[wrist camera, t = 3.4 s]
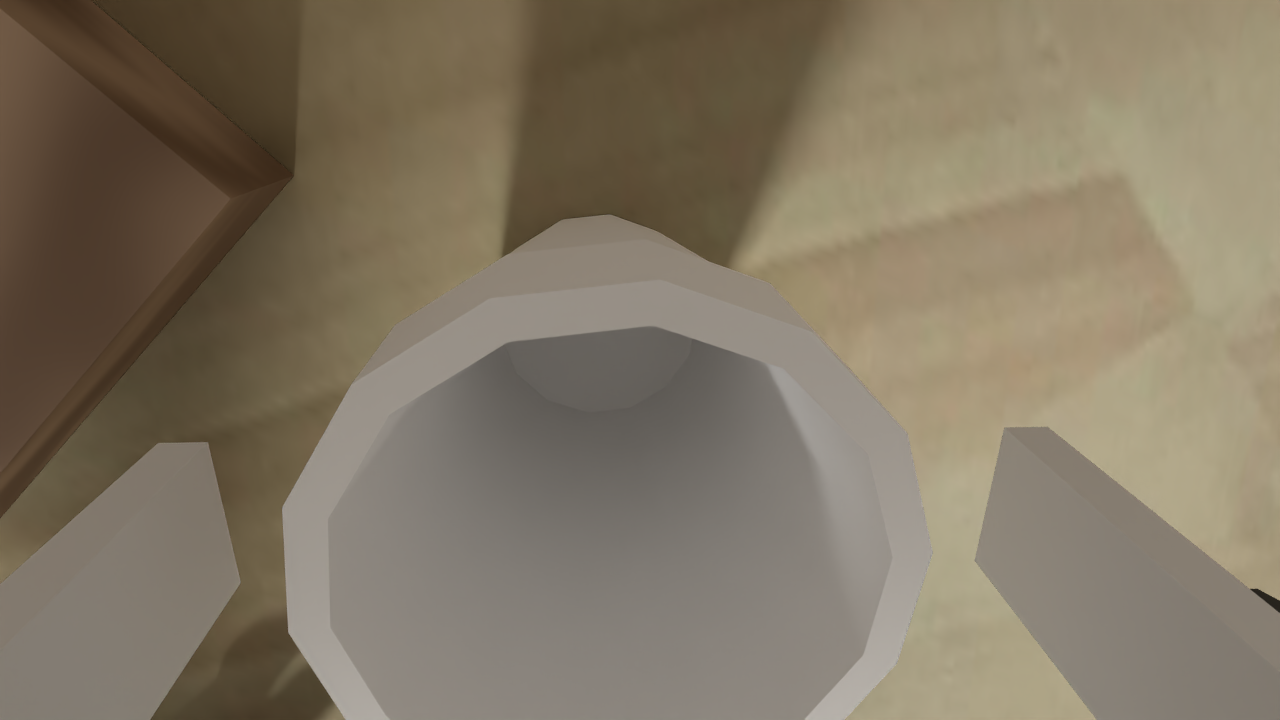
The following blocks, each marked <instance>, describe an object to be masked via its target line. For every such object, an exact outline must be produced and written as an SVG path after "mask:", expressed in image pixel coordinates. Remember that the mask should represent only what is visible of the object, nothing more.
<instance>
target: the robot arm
mask: <svg viewBox="0 0 1280 720" xmlns="http://www.w3.org/2000/svg"><path fill="white" fill-rule="evenodd" d="M975 562H976V563H977V564H978V566H979V567H980V568H981V570H982V571H983V572H984V574H985V575H986V576H987V577H988V579H989V580H990V581H991V583H992V584H993V585H994V587H995V588H996V589H997V590H998V592H999V593H1000V594H1001V596H1002V597H1003V598H1004V600H1005V601H1006V602H1007V603H1008V605H1009V606H1010V607H1011V609H1012V610H1013V611H1014V613H1015V614H1016V615H1017V616H1018V618H1019V619H1020V620H1021V622H1022V623H1023V624H1024V626H1025V627H1026V628H1027V629H1028V631H1029V632H1030V633H1031V635H1032V636H1033V637H1034V639H1035V640H1036V641H1037V642H1038V644H1039V645H1040V646H1041V648H1042V649H1043V650H1044V652H1045V653H1046V654H1047V655H1048V657H1049V658H1050V659H1051V661H1052V662H1053V663H1054V665H1055V666H1056V667H1057V668H1058V670H1059V671H1060V672H1061V674H1062V675H1063V676H1064V678H1065V679H1066V680H1067V681H1068V683H1069V684H1070V685H1071V687H1072V688H1073V689H1074V691H1075V692H1076V693H1077V694H1078V696H1079V697H1080V698H1081V700H1082V701H1083V702H1084V704H1085V705H1086V706H1087V707H1088V709H1089V710H1090V711H1091V713H1092V714H1093V715H1094V717H1095V718H1096V719H1097V720H1280V601H1279V600H1277V599H1275V598H1273V597H1272V596H1270V595H1268V594H1266V593H1264V592H1262V591H1260V590H1259V589H1249V588H1248V587H1247V586H1245V585H1244V584H1243V583H1242V582H1240V581H1239V580H1238V579H1237V578H1235V577H1234V576H1233V575H1232V574H1230V573H1229V572H1228V571H1227V570H1225V569H1224V568H1223V567H1222V566H1220V565H1219V564H1218V563H1217V562H1215V561H1214V560H1213V559H1212V558H1210V557H1209V556H1208V555H1207V554H1205V553H1204V552H1203V551H1202V550H1200V549H1199V548H1198V547H1197V546H1195V545H1194V544H1193V543H1192V542H1190V541H1189V540H1188V539H1187V538H1185V537H1184V536H1183V535H1182V534H1181V533H1179V532H1178V531H1177V530H1176V529H1174V528H1173V527H1172V526H1171V525H1169V524H1168V523H1167V522H1166V521H1164V520H1163V519H1162V518H1161V517H1159V516H1158V515H1157V514H1156V513H1154V512H1153V511H1152V510H1151V509H1149V508H1148V507H1147V506H1146V505H1144V504H1143V503H1142V502H1141V501H1139V500H1138V499H1137V498H1136V497H1134V496H1133V495H1132V494H1131V493H1129V492H1128V491H1127V490H1126V489H1124V488H1123V487H1122V486H1121V485H1119V484H1118V483H1117V482H1116V481H1114V480H1113V479H1112V478H1111V477H1109V476H1108V475H1107V474H1106V473H1104V472H1103V471H1102V470H1101V469H1100V468H1098V467H1097V466H1096V465H1095V464H1093V463H1092V462H1091V461H1090V460H1088V459H1087V458H1086V457H1085V456H1083V455H1082V454H1081V453H1080V452H1078V451H1077V450H1076V449H1075V448H1073V447H1072V446H1071V445H1070V444H1068V443H1067V442H1066V441H1065V440H1063V439H1062V438H1061V437H1060V436H1058V435H1057V434H1056V433H1055V432H1053V431H1052V430H1051V429H1050V428H1048V427H1010V428H1004V432H1003V436H1002V441H1001V445H1000V449H999V454H998V458H997V463H996V467H995V472H994V476H993V481H992V485H991V490H990V494H989V499H988V503H987V507H986V512H985V516H984V521H983V525H982V530H981V534H980V539H979V543H978V548H977V552H976V557H975ZM240 583H241V581H240V577H239V573H238V568H237V564H236V560H235V556H234V551H233V547H232V543H231V539H230V534H229V530H228V526H227V521H226V517H225V513H224V509H223V504H222V500H221V496H220V492H219V487H218V483H217V479H216V474H215V470H214V466H213V462H212V457H211V453H210V449H209V445H208V442H187V443H157V444H156V445H155V446H154V447H153V448H152V449H151V450H150V451H148V452H147V453H146V454H145V455H144V456H143V457H142V458H141V459H139V460H138V461H137V462H136V463H135V464H134V465H133V466H132V467H130V468H129V469H128V470H127V471H126V472H125V473H124V474H123V475H122V476H120V477H119V478H118V479H117V480H116V481H115V482H114V483H113V484H111V485H110V486H109V487H108V488H107V489H106V490H105V491H104V492H103V493H101V494H100V495H99V496H98V497H97V498H96V499H95V500H94V501H92V502H91V503H90V504H89V505H88V506H87V507H86V508H85V509H83V510H82V511H81V512H80V513H79V514H78V515H77V516H76V517H75V518H73V519H72V520H71V521H70V522H69V523H68V524H67V525H66V526H64V527H63V528H62V529H61V530H60V531H59V532H58V533H57V534H56V535H54V536H53V537H52V538H51V539H50V540H49V541H48V542H47V543H45V544H44V545H43V546H42V547H41V548H40V549H39V550H38V551H36V552H35V553H34V554H33V555H32V556H31V557H30V558H29V559H28V560H26V561H25V562H24V563H23V564H22V565H21V566H20V567H19V568H17V569H16V570H15V571H14V572H13V573H12V574H11V575H10V576H8V577H7V578H6V579H5V580H4V581H3V582H2V583H1V584H0V720H150V719H151V718H152V716H153V715H154V713H155V712H156V710H157V709H158V707H159V706H160V704H161V703H162V701H163V700H164V698H165V697H166V695H167V694H168V692H169V691H170V689H171V688H172V686H173V684H174V683H175V681H176V680H177V678H178V677H179V675H180V674H181V672H182V671H183V669H184V668H185V666H186V665H187V663H188V662H189V660H190V659H191V657H192V656H193V654H194V653H195V651H196V650H197V648H198V647H199V645H200V644H201V642H202V641H203V639H204V638H205V636H206V635H207V633H208V632H209V630H210V629H211V627H212V626H213V624H214V623H215V621H216V620H217V618H218V617H219V615H220V614H221V612H222V611H223V609H224V608H225V606H226V605H227V603H228V601H229V600H230V598H231V597H232V595H233V594H234V592H235V591H236V589H237V588H238V586H239V585H240Z"/></svg>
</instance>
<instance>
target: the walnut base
mask: <svg viewBox="0 0 1280 720" xmlns="http://www.w3.org/2000/svg"><path fill="white" fill-rule="evenodd" d="M293 176H294V175H293V174H292V173H290V172H289V171H288V170H287V169H286V168H285V167H283V166H282V165H281V164H280V163H279V162H278V161H277V160H275V159H274V158H273V157H272V156H271V155H270V154H268V153H267V152H266V151H265V150H264V149H263V148H261V147H260V146H259V145H258V144H257V143H256V142H254V141H253V140H252V139H251V138H250V137H249V136H248V135H246V134H245V133H244V132H243V131H242V130H241V129H239V128H238V127H237V126H236V125H235V124H234V123H232V122H231V121H230V120H229V119H228V118H227V117H226V116H224V115H223V114H222V113H221V112H220V111H219V110H217V109H216V108H215V107H214V106H213V105H212V104H210V103H209V102H208V101H207V100H206V99H205V98H203V97H202V96H201V95H200V94H199V93H198V92H197V91H195V90H194V89H193V88H192V87H191V86H190V85H188V84H187V83H186V82H185V81H184V80H183V79H181V78H180V77H179V76H178V75H177V74H176V73H174V72H173V71H172V70H171V69H170V68H169V67H168V66H166V65H165V64H164V63H163V62H162V61H161V60H159V59H158V58H157V57H156V56H155V55H154V54H152V53H151V52H150V51H149V50H148V49H147V48H146V47H144V46H143V45H142V44H141V43H140V42H139V41H137V40H136V39H135V38H134V37H133V36H132V35H130V34H129V33H128V32H127V31H126V30H125V29H123V28H122V27H121V26H120V25H119V24H118V23H117V22H115V21H114V20H113V19H112V18H111V17H110V16H108V15H107V14H106V13H105V12H104V11H103V10H101V9H100V8H99V7H98V6H97V5H96V4H94V3H93V2H92V1H91V0H0V518H1V517H2V516H3V514H4V513H5V512H6V511H7V510H8V509H9V507H10V506H11V505H12V504H13V503H14V502H15V500H16V499H17V498H18V497H19V496H20V495H21V493H22V492H23V491H24V490H25V489H26V488H27V486H28V485H29V484H30V483H31V482H32V481H33V479H34V478H35V477H36V476H37V475H38V474H39V472H40V471H41V470H42V469H43V468H44V467H45V465H46V464H47V463H48V462H49V461H50V460H51V458H52V457H53V456H54V455H55V454H56V453H57V451H58V450H59V449H60V448H61V447H62V446H63V444H64V443H65V442H66V441H67V440H68V439H69V437H70V436H71V435H72V434H73V433H74V432H75V430H76V429H77V428H78V427H79V426H80V425H81V423H82V422H83V421H84V420H85V419H86V418H87V416H88V415H89V414H90V413H91V412H92V411H93V409H94V408H95V407H96V406H97V405H98V404H99V402H100V401H101V400H102V399H103V398H104V397H105V395H106V394H107V393H108V392H109V391H110V390H111V388H112V387H113V386H114V385H115V384H116V383H117V381H118V380H119V379H120V378H121V377H122V376H123V374H124V373H125V372H126V371H127V370H128V369H129V367H130V366H131V365H132V364H133V363H134V362H135V360H136V359H137V358H138V357H139V356H140V355H141V353H142V352H143V351H144V350H145V349H146V348H147V346H148V345H149V344H150V343H151V342H152V341H153V339H154V338H155V337H156V336H157V335H158V334H159V332H160V331H161V330H162V329H163V328H164V327H165V325H166V324H167V323H168V322H169V321H170V320H171V318H172V317H173V316H174V315H175V314H176V313H177V311H178V310H179V309H180V308H181V307H182V306H183V304H184V303H185V302H186V301H187V300H188V299H189V297H190V296H191V295H192V294H193V293H194V292H195V290H196V289H197V288H198V287H199V286H200V285H201V283H202V282H203V281H204V280H205V279H206V278H207V276H208V275H209V274H210V273H211V272H212V270H213V269H214V268H215V267H216V266H217V265H218V263H219V262H220V261H221V260H222V259H223V258H224V256H225V255H226V254H227V253H228V252H229V251H230V249H231V248H232V247H233V246H234V245H235V244H236V242H237V241H238V240H239V239H240V238H241V237H242V235H243V234H244V233H245V232H246V231H247V230H248V228H249V227H250V226H251V225H252V224H253V223H254V221H255V220H256V219H257V218H258V217H259V216H260V214H261V213H262V212H263V211H264V210H265V209H266V207H267V206H268V205H269V204H270V203H271V202H272V200H273V199H274V198H275V197H276V196H277V195H278V193H279V192H280V191H281V190H282V189H283V188H284V186H285V185H286V184H287V183H288V182H289V181H290V179H291V178H292V177H293Z"/></svg>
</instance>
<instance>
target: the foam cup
mask: <svg viewBox="0 0 1280 720" xmlns="http://www.w3.org/2000/svg"><path fill="white" fill-rule="evenodd" d="M282 516H283V536H284V556H285V577H286V597H287V617H288V633H289V635H290V636H291V638H292V639H293V641H294V642H295V644H296V645H297V647H298V648H299V650H300V651H301V653H302V654H303V656H304V657H305V659H306V660H307V662H308V663H309V665H310V666H311V668H312V669H313V671H314V672H315V674H316V675H317V677H318V679H319V680H320V682H321V683H322V685H323V686H324V688H325V689H326V691H327V692H328V694H329V695H330V697H331V698H332V700H333V701H334V703H335V704H336V706H337V707H338V709H339V710H340V712H341V713H342V715H343V716H344V718H345V719H346V720H844V719H845V718H846V717H847V716H848V715H849V714H850V713H851V712H852V711H853V710H854V709H855V708H856V707H857V706H858V704H859V703H860V702H861V701H862V700H863V699H864V698H865V697H866V696H867V695H868V694H869V693H870V692H871V691H872V690H873V689H874V687H875V686H876V685H877V684H878V683H879V682H880V681H881V680H882V679H883V678H884V677H885V676H886V675H887V674H888V673H889V671H890V670H891V669H892V668H893V667H894V666H895V665H896V664H897V662H898V658H899V655H900V652H901V649H902V646H903V643H904V640H905V637H906V634H907V631H908V628H909V625H910V621H911V618H912V615H913V612H914V609H915V606H916V603H917V600H918V597H919V594H920V591H921V588H922V584H923V581H924V578H925V575H926V572H927V569H928V566H929V563H930V560H931V557H932V554H933V551H932V547H931V542H930V537H929V532H928V528H927V523H926V518H925V514H924V509H923V504H922V500H921V495H920V490H919V485H918V481H917V476H916V471H915V467H914V462H913V457H912V453H911V448H910V443H909V439H908V434H907V432H906V431H905V430H904V429H903V428H902V427H901V426H900V425H899V423H898V422H897V421H896V420H895V419H894V418H893V417H892V416H891V414H890V413H889V412H888V411H887V410H886V409H885V408H884V407H883V405H882V404H881V403H880V402H879V401H878V400H877V399H876V398H875V396H874V395H873V394H872V393H871V392H870V391H869V390H868V389H867V387H866V386H865V385H864V384H863V383H862V382H861V381H860V380H859V378H858V377H857V376H856V375H855V374H854V373H853V372H852V371H851V369H850V368H849V367H848V366H847V365H846V364H845V363H844V362H843V361H842V360H841V359H840V358H839V357H838V356H837V354H836V353H835V352H834V351H833V350H832V349H831V348H830V347H829V346H828V345H827V344H826V343H825V342H824V341H823V339H822V338H821V337H820V336H819V335H818V334H817V333H816V332H815V331H814V330H813V329H812V328H811V327H810V325H809V324H808V323H807V322H806V321H805V320H804V319H803V318H802V317H801V316H800V315H799V314H798V313H797V312H796V310H795V309H794V308H793V307H792V306H791V305H790V304H789V303H788V302H787V301H786V300H785V299H784V298H783V297H782V295H781V294H780V293H779V292H778V291H777V290H776V289H775V288H774V287H773V286H772V285H771V284H770V283H768V282H766V281H763V280H760V279H757V278H754V277H751V276H749V275H746V274H743V273H740V272H737V271H734V270H732V269H729V268H726V267H723V266H720V265H717V264H715V263H712V262H709V261H707V260H705V259H704V258H702V257H700V256H699V255H697V254H695V253H693V252H692V251H690V250H688V249H687V248H685V247H683V246H682V245H680V244H678V243H676V242H675V241H673V240H671V239H670V238H668V237H666V236H665V235H663V234H661V233H660V232H657V231H655V230H653V229H650V228H647V227H644V226H641V225H639V224H636V223H633V222H630V221H627V220H624V219H622V218H619V217H616V216H613V215H610V214H608V215H599V216H590V217H581V218H571V219H562V220H560V221H559V222H557V223H556V224H554V225H552V226H551V227H549V228H548V229H546V230H545V231H543V232H541V233H540V234H538V235H537V236H535V237H533V238H532V239H530V240H529V241H527V242H525V243H524V244H522V245H521V246H519V247H518V248H516V249H515V250H514V251H512V252H511V253H510V254H507V255H505V256H504V257H502V258H501V259H499V260H497V261H496V262H494V263H493V264H491V265H489V266H488V267H486V268H485V269H483V270H481V271H480V272H478V273H477V274H475V275H474V276H472V277H470V278H469V279H467V280H466V281H464V282H462V283H461V284H459V285H458V286H456V287H454V288H453V289H451V290H450V291H448V292H446V293H445V294H443V295H442V296H440V297H439V298H437V299H435V300H434V301H432V302H431V303H429V304H427V305H426V306H424V307H423V308H421V309H419V310H418V311H416V312H415V313H413V314H411V315H410V316H408V317H407V318H405V319H404V320H402V321H400V322H399V323H397V324H396V325H395V326H394V327H393V328H392V330H391V331H390V332H389V334H388V335H387V337H386V338H385V339H384V341H383V342H382V343H381V345H380V346H379V347H378V349H377V350H376V351H375V353H374V354H373V356H372V357H371V358H370V360H369V361H368V362H367V364H366V365H365V366H364V368H363V369H362V371H361V372H360V373H359V375H358V376H357V377H356V379H355V380H354V381H353V383H352V384H351V386H350V388H349V389H348V391H347V393H346V395H345V397H344V398H343V400H342V402H341V404H340V405H339V407H338V409H337V411H336V413H335V414H334V416H333V418H332V420H331V421H330V423H329V425H328V427H327V429H326V430H325V432H324V434H323V436H322V438H321V439H320V441H319V443H318V445H317V446H316V448H315V450H314V452H313V454H312V455H311V457H310V459H309V461H308V462H307V464H306V466H305V468H304V470H303V471H302V473H301V475H300V477H299V478H298V480H297V482H296V484H295V486H294V487H293V489H292V491H291V493H290V494H289V496H288V498H287V500H286V502H285V503H284V505H283V507H282Z"/></svg>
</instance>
